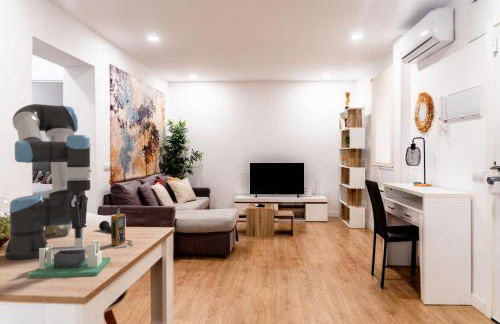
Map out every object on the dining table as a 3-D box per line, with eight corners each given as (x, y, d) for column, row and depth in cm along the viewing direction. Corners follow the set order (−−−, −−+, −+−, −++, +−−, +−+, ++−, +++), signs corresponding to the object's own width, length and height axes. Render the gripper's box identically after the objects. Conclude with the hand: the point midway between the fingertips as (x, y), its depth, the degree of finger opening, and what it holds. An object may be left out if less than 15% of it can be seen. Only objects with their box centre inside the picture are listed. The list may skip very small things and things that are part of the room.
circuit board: (29, 277, 122) (29, 250, 122) (51, 262, 140) (51, 238, 140) (97, 275, 125) (97, 248, 124) (110, 260, 142) (110, 236, 142)
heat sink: (53, 269, 128) (53, 254, 127) (62, 262, 136) (62, 249, 135) (78, 268, 129) (78, 254, 129) (85, 261, 137) (85, 248, 136)
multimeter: (128, 249, 160) (128, 201, 159) (106, 248, 161) (106, 201, 161) (144, 241, 174) (143, 198, 174) (124, 240, 176) (123, 197, 175)
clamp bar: (40, 255, 129) (40, 248, 129) (45, 252, 133) (45, 246, 133) (92, 252, 131) (92, 246, 131) (95, 249, 135) (95, 243, 135)
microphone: (120, 240, 189) (105, 230, 203) (123, 229, 190) (108, 220, 203) (110, 238, 186) (95, 228, 199) (114, 228, 186) (99, 218, 200)
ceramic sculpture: (73, 218, 184) (39, 223, 174) (75, 235, 184) (40, 242, 175) (68, 215, 192) (34, 220, 183) (69, 232, 193) (36, 238, 183)
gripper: (84, 180, 126) (84, 250, 126) (95, 178, 139) (95, 242, 139) (60, 180, 125) (61, 251, 125) (73, 178, 138) (74, 242, 138)
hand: (79, 246), depth 132 cm, fingers closed
